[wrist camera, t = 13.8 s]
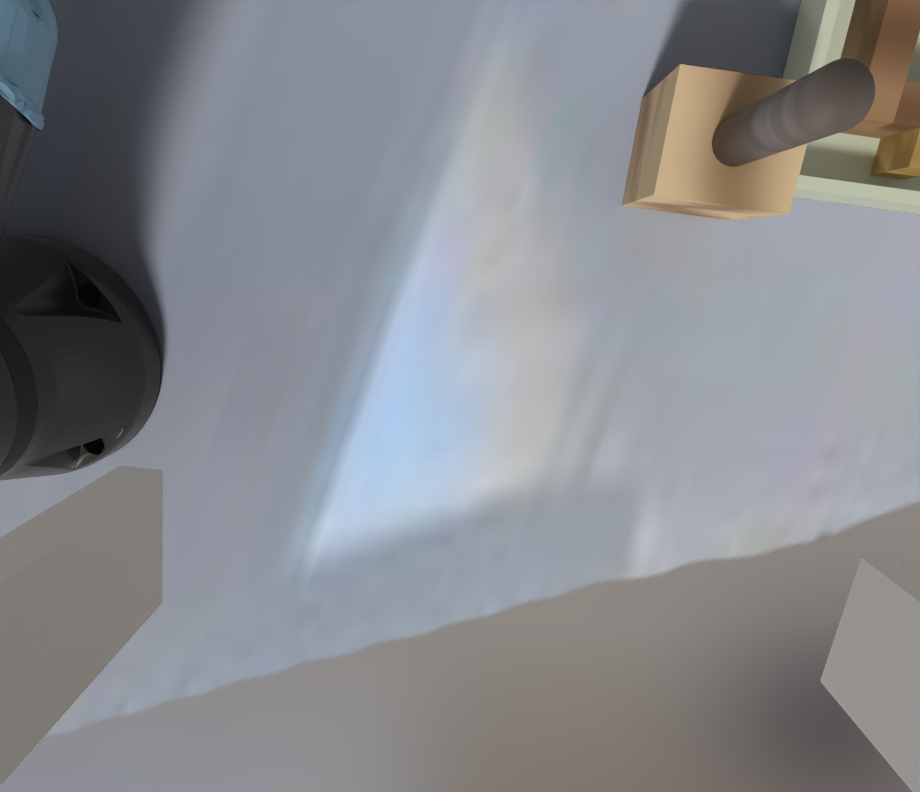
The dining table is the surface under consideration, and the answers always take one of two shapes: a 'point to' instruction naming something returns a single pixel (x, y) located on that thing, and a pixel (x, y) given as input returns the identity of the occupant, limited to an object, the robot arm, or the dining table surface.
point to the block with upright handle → (737, 137)
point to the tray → (842, 155)
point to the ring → (888, 82)
